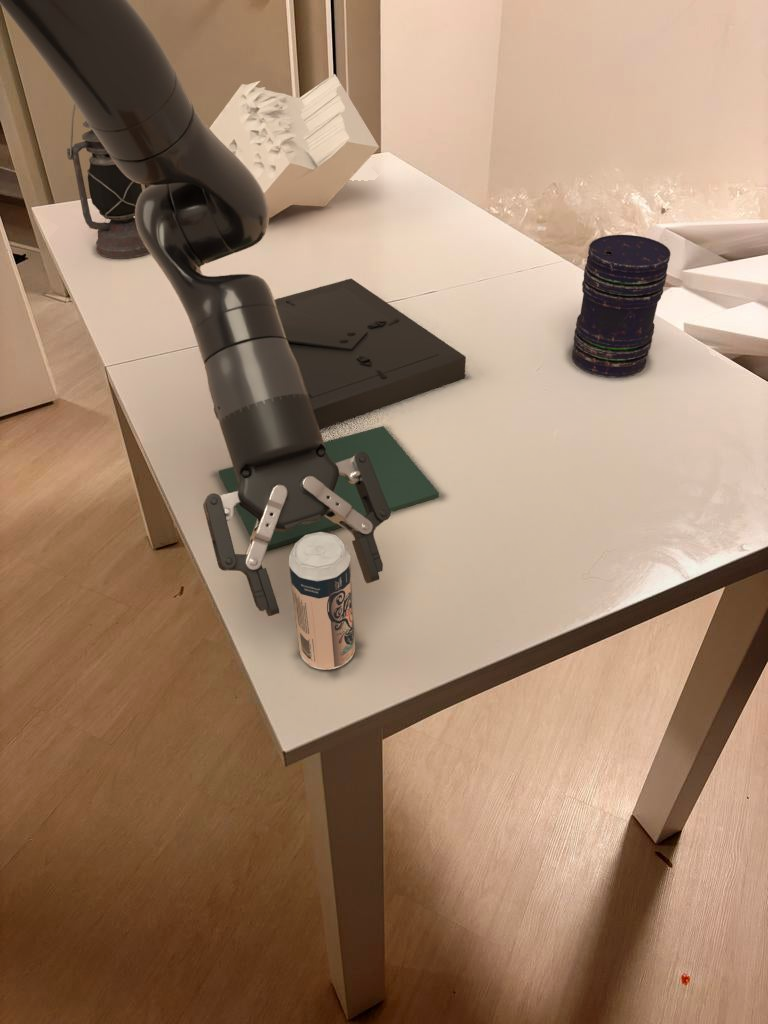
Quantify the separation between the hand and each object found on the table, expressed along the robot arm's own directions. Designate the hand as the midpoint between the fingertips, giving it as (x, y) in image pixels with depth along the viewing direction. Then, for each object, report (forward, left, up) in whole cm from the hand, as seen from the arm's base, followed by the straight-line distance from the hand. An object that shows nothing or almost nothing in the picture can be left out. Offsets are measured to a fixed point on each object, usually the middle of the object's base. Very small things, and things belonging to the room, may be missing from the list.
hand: (324, 597), depth 64 cm
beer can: (0, 0, -7) cm, 7 cm away
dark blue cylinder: (+52, +31, -7) cm, 61 cm away
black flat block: (+19, +48, -7) cm, 52 cm away
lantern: (+2, +99, -7) cm, 99 cm away
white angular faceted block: (+25, +110, -2) cm, 112 cm away
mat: (+8, +22, -7) cm, 24 cm away
